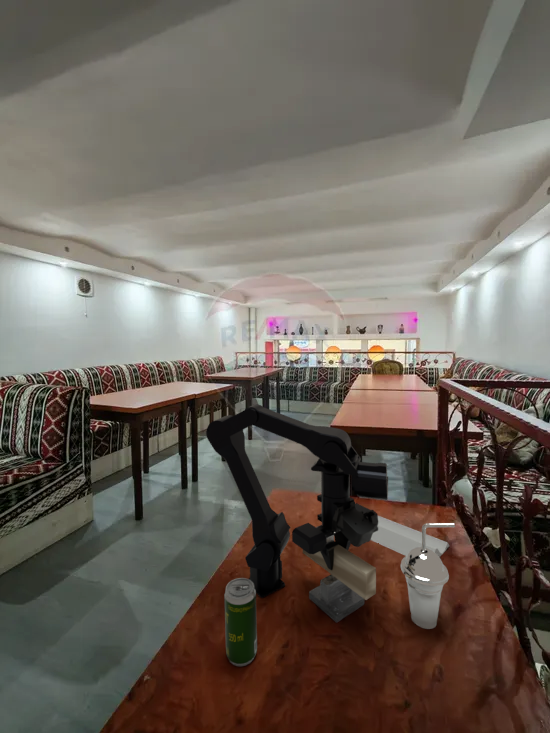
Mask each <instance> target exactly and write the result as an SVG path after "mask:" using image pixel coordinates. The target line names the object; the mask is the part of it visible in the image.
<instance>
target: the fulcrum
mask: <svg viewBox="0 0 550 733" xmlns="http://www.w3.org/2000/svg"><path fill="white" fill-rule="evenodd" d="M319 582H320V585H319V586H316V587H315V588H313V589H311V590H309V592H308V598H309V600H310V601H311V602H313V603H314V604H315V605H316V606H317V607H318V608H319V609H320V610H321V611H322V612H323V613H325V615H327V616H328V617H329V618H330V619H332V621H333V622H335V623H336V624H337V623H338V622H340V621H342V620H343V619H344V618H346V617H348V616H349V615H350V614H352V613H354V612H355V611H356V610H358V609H359V608H361V607H363V606H364V605H365V599H364V598H362V597H361V596H360V595H358V594H357V593H356V592H354V591H353V590H352V589H350V588H349V587H348V586H346V585H345V584H344V583H342V582H341V581H340V580H338V579H337V578H336V577H334V576H333V575H332V574H329V575H327V576H325V577H323V578H321V579H320V581H319Z"/></svg>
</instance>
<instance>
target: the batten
mask: <svg viewBox="0 0 550 733" xmlns="http://www.w3.org/2000/svg"><path fill="white" fill-rule="evenodd" d="M302 554H303V555H305V556H306V557H307V558H309V559H311V561H313V562H314V563H315V564H317V565H319V566H320V567H321V568H322V569H324V570H325V571H326V572H328V573H329V575H331V574H332V575H333V576H334V577H336V578H337V579H338V580H340V581H341V582H342V583H344V584H345V585H346V586H348V587H349V588H350V589H352V590H353V591H354V592H356V593H357V594H358V595H360V596H361V597H362V598H364V601H368V599H370V598H371V597H373V596H374V595H376V594H377V567H375V566H373V565H372V564H370V563H368V562H367V561H365V560H364V559H363V558H361V557H359V556H357V555H356V554H354V553H353V552H351V551H350V550H347V549H345V548H343V547H342V546H340V545H338V546H336V547H335V548H334V564H333V570H330V569H328V567H327V565H326V563H325V561H324V558H323V556H322V554H321V552H320V551H319V552H317V553H315V554H309V553H307V552H306V551H304V550H303V549H302Z"/></svg>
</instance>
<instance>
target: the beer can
mask: <svg viewBox="0 0 550 733" xmlns="http://www.w3.org/2000/svg"><path fill="white" fill-rule="evenodd" d="M223 595H224V626H225V628H224V630H225V632H224V633H225V652H226V653H225V655H226V657H227V659H228V661H229V663H231V664H232V665H233V666H236V667H244V666H248V665H249V664H251V663H252V661H254V659H255V657H256V654H257V652H258V631H257V630H258V629H257V624H258V623H257V593H256V590H255V588H254V583H253V582H252V581H251V580H249V578H246V577H239V578H237V577H236V578H235V579H232V580H230V581H229V582H228V583H227V584H226V586H225V591H224V594H223Z"/></svg>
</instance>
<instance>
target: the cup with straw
mask: <svg viewBox="0 0 550 733" xmlns="http://www.w3.org/2000/svg"><path fill="white" fill-rule="evenodd" d="M428 528H456V525H455V523H454V522H450V523H449V522H446V523H445V522H443V523H442V522H436V523H435V522H427V523H424V524H422V527H421V532H422V547H416V548H413V549H412V550H410V551H409V552H408V554H407V556H405V555H404V557H403V558H402V559H401V561H400V569H401V572H402V574H403V575H404V577H405V581H406V584H407V593H408V602H409V603H408V604H409V610H410V613H411V614H410V617H411V621H412V622H413V623H414V624H416V626H418V627H420V628H422V629H426V630H430V629H434V628H436V626H437V623H438V617H439V609H440V604H441V596H442V591H443V587H444V585H445V584H446V583H448V581H449V578H450V575H449V571H448V568H447V566H446V565H444V563H443V561H442V559H441V557H439V556H438V555H437V554H436V553H435V552H433V551H432V550H430V549H428V548H426V534H427V529H428Z"/></svg>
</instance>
